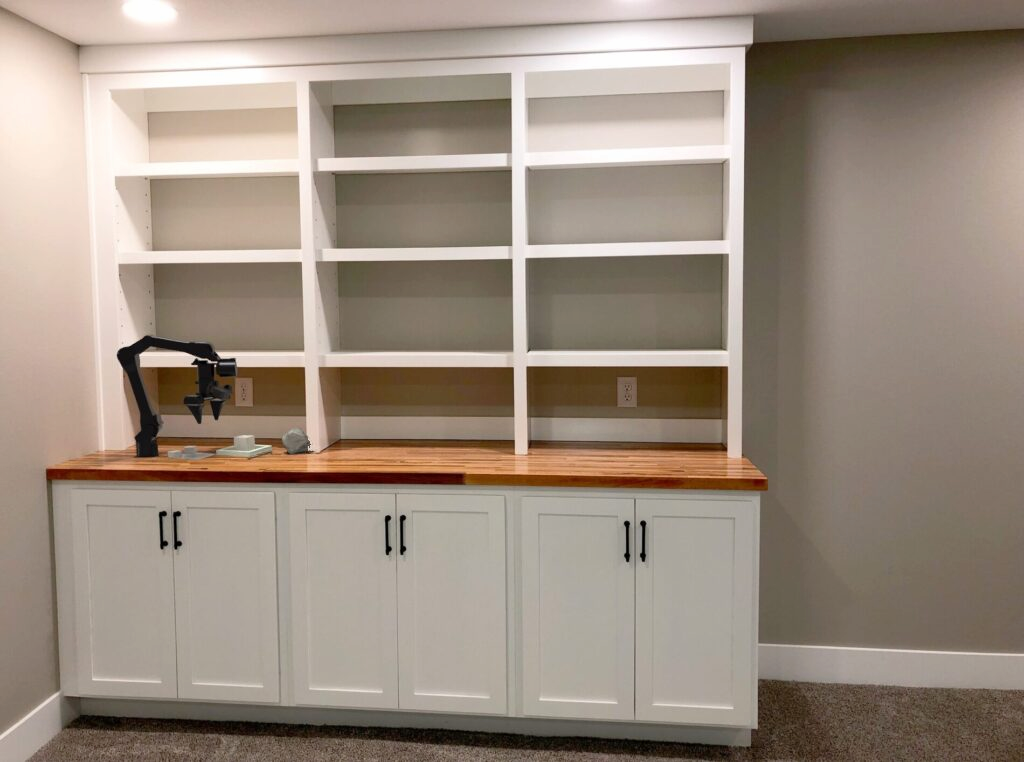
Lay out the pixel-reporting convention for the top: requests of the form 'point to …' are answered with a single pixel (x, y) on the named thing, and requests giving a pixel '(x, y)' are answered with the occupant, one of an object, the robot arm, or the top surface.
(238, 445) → the large white cube
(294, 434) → the stone
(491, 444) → the top surface
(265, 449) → the bin
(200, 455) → the slate board
